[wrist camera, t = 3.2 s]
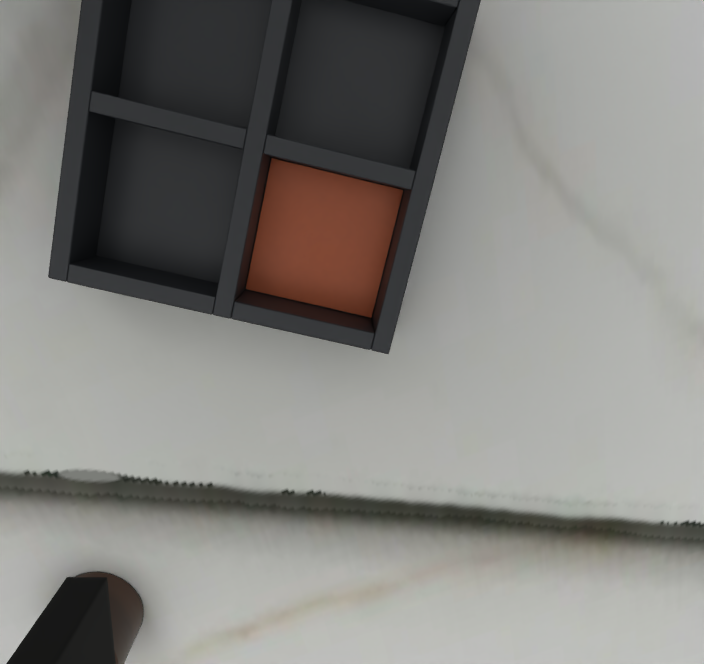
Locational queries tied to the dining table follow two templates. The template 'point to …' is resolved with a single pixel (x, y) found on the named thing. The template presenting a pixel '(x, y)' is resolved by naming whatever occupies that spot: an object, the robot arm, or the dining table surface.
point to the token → (122, 613)
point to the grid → (258, 155)
